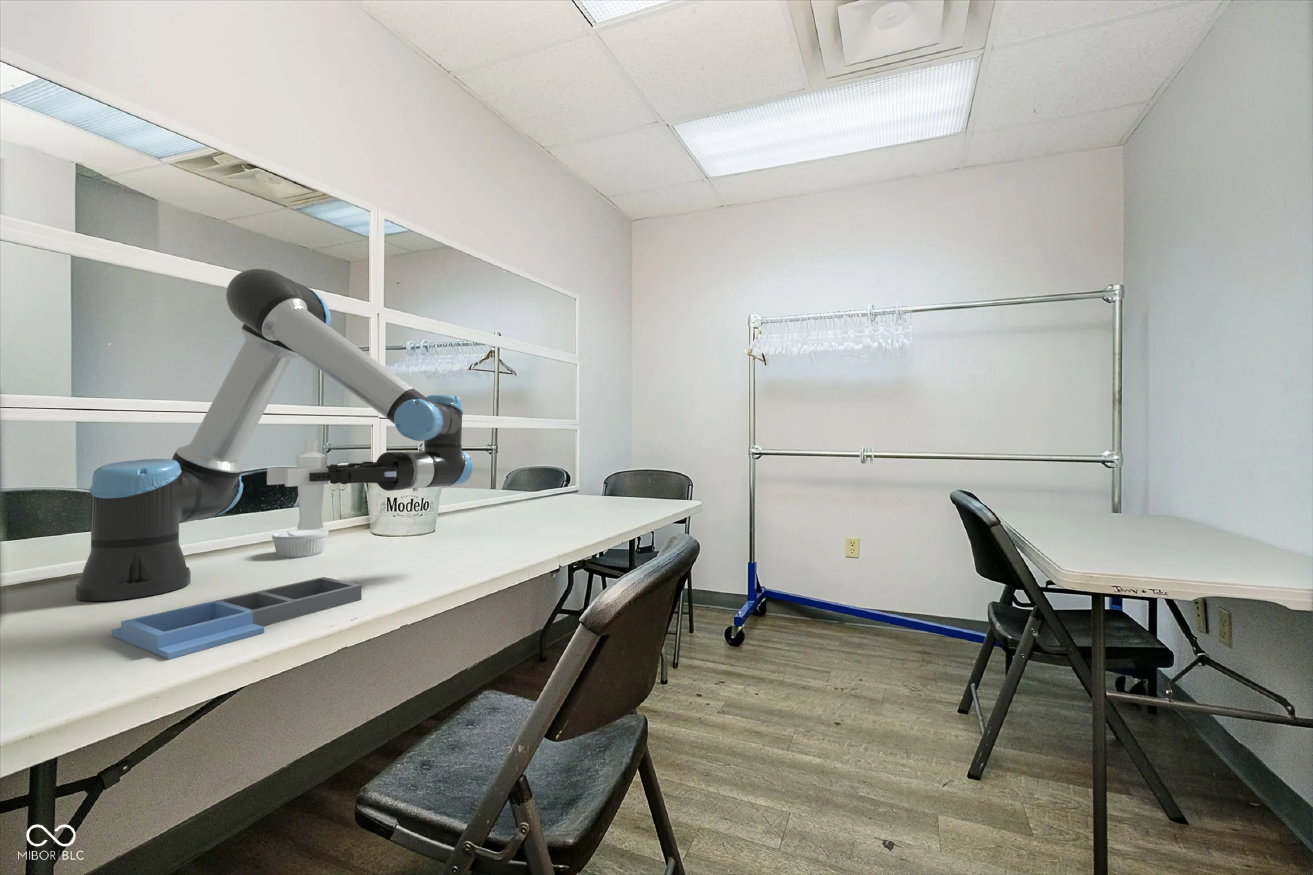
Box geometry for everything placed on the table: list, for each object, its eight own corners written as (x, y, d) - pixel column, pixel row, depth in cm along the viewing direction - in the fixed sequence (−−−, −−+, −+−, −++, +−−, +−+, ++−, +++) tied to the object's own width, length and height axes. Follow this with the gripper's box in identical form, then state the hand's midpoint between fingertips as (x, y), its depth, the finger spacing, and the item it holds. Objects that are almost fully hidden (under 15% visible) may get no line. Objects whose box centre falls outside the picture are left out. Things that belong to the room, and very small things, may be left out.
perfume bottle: (302, 531, 90) (303, 440, 90) (289, 528, 92) (290, 440, 92) (331, 527, 94) (332, 440, 94) (317, 525, 96) (319, 440, 96)
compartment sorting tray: (313, 588, 102) (313, 574, 102) (372, 601, 94) (372, 587, 94) (111, 635, 77) (111, 617, 77) (168, 659, 69) (169, 639, 69)
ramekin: (260, 557, 127) (260, 534, 127) (301, 548, 138) (302, 527, 138) (299, 560, 124) (299, 537, 124) (338, 551, 135) (339, 529, 135)
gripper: (433, 492, 105) (308, 504, 84) (374, 487, 113) (247, 496, 92) (434, 453, 105) (309, 455, 84) (375, 450, 113) (248, 452, 92)
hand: (277, 477), depth 88 cm, fingers closed on perfume bottle, 4 cm apart
